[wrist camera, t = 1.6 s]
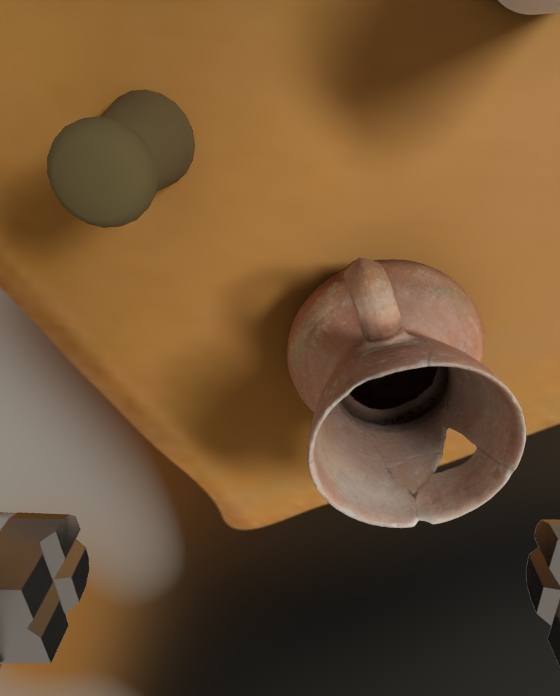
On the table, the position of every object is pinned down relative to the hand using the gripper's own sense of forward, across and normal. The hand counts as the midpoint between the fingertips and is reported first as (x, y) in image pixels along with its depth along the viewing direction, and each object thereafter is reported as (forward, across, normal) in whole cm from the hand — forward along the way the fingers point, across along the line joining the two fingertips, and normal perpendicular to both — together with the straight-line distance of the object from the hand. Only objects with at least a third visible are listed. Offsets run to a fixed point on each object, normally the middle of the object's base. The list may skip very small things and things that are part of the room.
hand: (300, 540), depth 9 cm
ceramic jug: (+30, -5, +10) cm, 32 cm away
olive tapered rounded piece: (+29, +10, -5) cm, 31 cm away
